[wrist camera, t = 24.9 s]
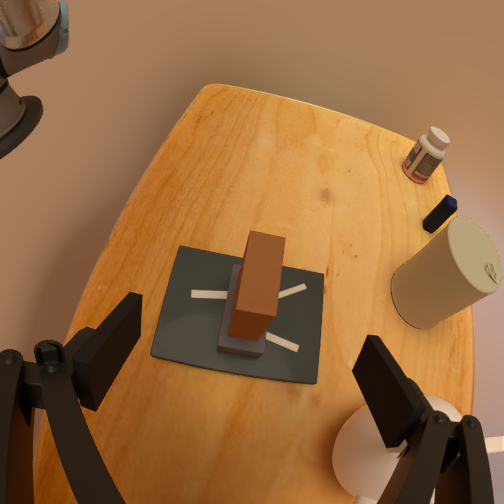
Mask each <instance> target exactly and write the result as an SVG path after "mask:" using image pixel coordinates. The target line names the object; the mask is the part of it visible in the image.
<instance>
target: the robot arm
mask: <svg viewBox="0 0 504 504" xmlns="http://www.w3.org/2000/svg"><path fill="white" fill-rule="evenodd" d="M68 25H69V24H68V7H67V3H66V1H57V0H0V141H2V140H3V139H4V138H6V137H7V136H8V135H9V134H10V133H11V132H12V131H13V130H14V129H15V128H16V127H17V126H18V125H19V124H20V123H21V121H22V120H23V118H24V116H25V114H26V107H25V105H24V103H25V102H23V101H22V99H21V97H19V96H18V95H17V94H16V93H15V91H14V90H13V89H12V88H11V87H10V85H9V82H8V79H7V78H8V77H9V76H11V75H13V74H15V73H17V72H19V71H22V70H24V69H26V68H28V67H30V66H32V65H34V64H37V63H39V62H42V61H44V60H46V59H51V58H53V57H54V56H56V55H58V54H61V53H63V52H64V51H65V50H66V49H67V47H68V43H69V31H68ZM141 313H142V295H141V294H137V293H133V292H129V293H128V294H127V296H126V297H125V298H124V299H123V300H122V301H121V302H120V303H119V304H118V305H117V306H116V308H115V309H114V310H113V311H112V312H111V313H110V314H109V315H108V316H107V317H106V319H105V320H104V321H103V322H102V323H101V324H100V325H99V326H98V328H97V329H96V330H95V329H92V328H89V327H86V328H84V329H82V330H80V331H78V332H77V333H76V334H75V336H74V337H73V338H72V339H71V340H70V341H69V342H68V343H67V344H66V345H65V346H64V347H63V345H62V344H61V343H59V342H57V341H54V340H45V341H41V342H39V343H37V345H36V346H35V348H34V354H35V358H36V363H33V362H27V361H24V360H23V356H22V355H21V353H20V352H18V351H16V350H13V349H7V350H4V351H2V352H1V353H0V504H35V503H34V489H33V431H34V430H33V429H34V416H35V408H40V409H45V410H46V412H47V416H48V420H49V424H50V427H51V431H52V434H53V438H54V441H55V444H56V448H57V451H58V454H59V457H60V460H61V463H62V465H63V468H64V471H65V474H66V476H67V479H68V481H69V484H70V486H71V489H72V491H73V493H74V496H75V498H76V500H77V502H78V504H126V503H125V501H124V500H123V498H122V496H121V494H120V493H119V491H118V489H117V487H116V485H115V484H114V482H113V480H112V478H111V476H110V474H109V472H108V470H107V468H106V466H105V464H104V462H103V460H102V458H101V456H100V454H99V452H98V449H97V447H96V445H95V443H94V440H93V438H92V436H91V433H90V431H89V428H88V426H87V423H86V421H85V418H84V416H83V413H82V410H81V408H80V405H81V406H82V407H85V408H87V409H90V410H93V411H95V412H96V411H97V409H98V407H99V406H100V404H101V402H102V400H103V399H104V397H105V395H106V393H107V392H108V390H109V388H110V386H111V385H112V383H113V381H114V379H115V378H116V376H117V374H118V373H119V371H120V369H121V368H122V366H123V364H124V363H125V361H126V359H127V358H128V356H129V354H130V353H131V351H132V349H133V348H134V346H135V344H136V343H137V341H138V340H139V338H140V336H141ZM352 372H353V374H354V377H355V379H356V381H357V383H358V385H359V388H360V390H361V392H362V394H363V396H364V399H365V401H366V403H367V405H368V408H369V410H370V412H371V414H372V417H373V419H374V421H375V424H376V426H377V428H378V430H379V433H380V435H381V437H382V440H383V442H384V445H385V447H386V448H395V447H399V446H400V445H401V443H402V442H403V441H404V440H406V442H407V445H406V447H405V448H404V449H403V450H402V452H401V453H400V454H399V455H398V457H397V459H398V458H399V457H400V459H399V461H398V463H397V465H396V467H395V469H394V471H393V474H392V476H391V478H390V480H389V482H388V484H387V485H386V487H385V489H384V491H383V493H382V495H381V497H380V499H379V500H378V502H377V504H430V501H431V498H432V495H433V492H434V489H435V496H434V504H494V497H493V488H492V480H491V473H490V468H489V461H488V456H487V450H486V445H485V440H484V436H483V431H482V427H481V424H480V422H479V421H478V419H477V418H475V417H474V416H471V415H465V416H463V418H462V419H461V420H460V422H455V421H451V420H450V418H449V416H447V415H446V414H445V413H444V412H442V411H438V410H434V409H433V408H432V406H431V405H430V403H429V402H428V400H427V399H426V397H425V396H424V394H423V393H422V391H420V388H419V387H418V385H417V384H416V383H415V382H414V381H413V380H411V379H410V378H407V377H406V375H405V374H404V372H403V371H402V369H401V368H400V366H399V365H398V363H397V362H396V360H395V359H394V358H393V356H392V355H391V353H390V352H389V350H388V349H387V347H386V346H385V345H384V343H383V342H382V340H381V339H380V337H379V336H376V335H367V337H366V340H365V342H364V345H363V347H362V349H361V352H360V354H359V356H358V359H357V361H356V363H355V365H354V368H353V370H352ZM78 398H79V400H80V405H79V402H78Z"/></svg>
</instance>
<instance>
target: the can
mask: <svg viewBox="0 0 504 504" xmlns="http://www.w3.org/2000/svg"><path fill="white" fill-rule="evenodd" d="M501 280H502V267H501V261H500V258H499V254H498V252H497V249H496V247H495V245H494V243H493V242H492V240H491V239H490V237H489V235H488V234H487V233H486V231H485V230H484V229H483V228H482V227H481V226H480V225H479V224H478V223H476V222H475V221H473V220H472V219H470V218H468V217H465V216H456V217H454V218H453V219H452V220H451V221H450V222H449V223H448V224H447V225H446V227H445V228H444V229H443V230H442V231H441V232H440V233H439V234H437V235H436V236H435V237H434V238H433V239H432V240H431V241H430V242H429V243H428V244H427V245H426V246H425V247H424V248H423V249H422V250H420V251H419V252H418V253H417V254H416V255H415V256H414V257H413V258H411V259H410V260H409V261H408V262H407V263H405V264H403V265H402V266H400V267H399V268H398V269H397V270H396V272H395V273H394V276H393V278H392V283H391V292H392V298H393V301H394V304H395V307H396V309H397V311H398V312H399V314H400V315H401V317H402V318H403V319H404V320H405V321H406V322H407V323H409V324H410V325H412V326H414V327H416V328H419V329H428V328H431V327H433V326H435V325H436V324H437V323H439V322H440V321H442V320H444V319H446V318H448V317H450V316H452V315H453V314H455V313H457V312H459V311H461V310H463V309H464V308H466V307H468V306H470V305H472V304H473V303H475V302H477V301H478V300H480V299H482V298H484V297H486V296H487V295H489V294H491V293H494V292H495V291H496V290H497V289H498V288H499V286H500V283H501Z"/></svg>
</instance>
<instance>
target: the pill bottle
mask: <svg viewBox="0 0 504 504" xmlns="http://www.w3.org/2000/svg"><path fill="white" fill-rule="evenodd" d="M449 143H450V139H449V137H448V136H447V135H446V134H445V133H444V132H443V131H442V130H440V129H439V128H436V127H431V128H430V130H429V131H428V133H427V135H426V134H424V135H422V136H420V138H419V139H418V141H417V142H416V144H415V145H414V147H413V148H412V150H411V151H410V153H409V155H408V156H407V158H406V159H405V161H404V162H403V170H404V172H405V173H406V175H407V176H408V177H409V178H411V179H412V180H414V181H415V182H417V183H425V182H426V181H427V180H428V178H429V177H430V176H431V174H432V173H433V172H434V171H435V169H436V168H437V167H438V165H439V164H440V163H441V161H442V160H443V159H444V157H445V148H447V146H448V145H449Z"/></svg>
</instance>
